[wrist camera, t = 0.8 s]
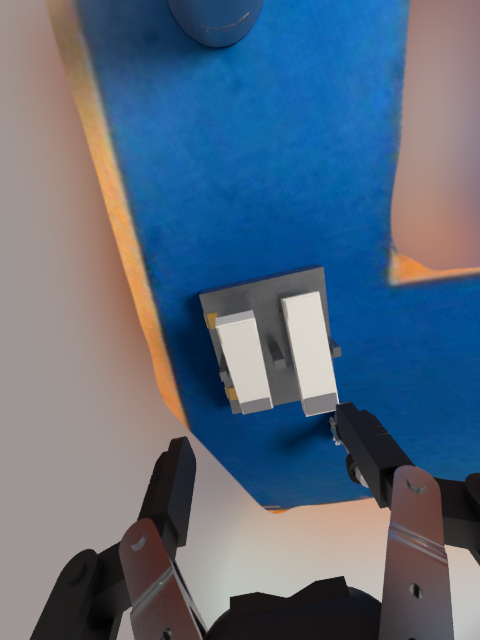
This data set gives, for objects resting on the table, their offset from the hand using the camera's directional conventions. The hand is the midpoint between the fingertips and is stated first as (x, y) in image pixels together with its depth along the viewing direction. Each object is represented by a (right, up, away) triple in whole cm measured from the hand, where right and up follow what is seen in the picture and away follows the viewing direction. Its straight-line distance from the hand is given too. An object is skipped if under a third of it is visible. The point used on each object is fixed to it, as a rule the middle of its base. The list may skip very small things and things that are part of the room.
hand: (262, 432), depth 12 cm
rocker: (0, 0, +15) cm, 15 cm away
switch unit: (+3, +3, +21) cm, 21 cm away
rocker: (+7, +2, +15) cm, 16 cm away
